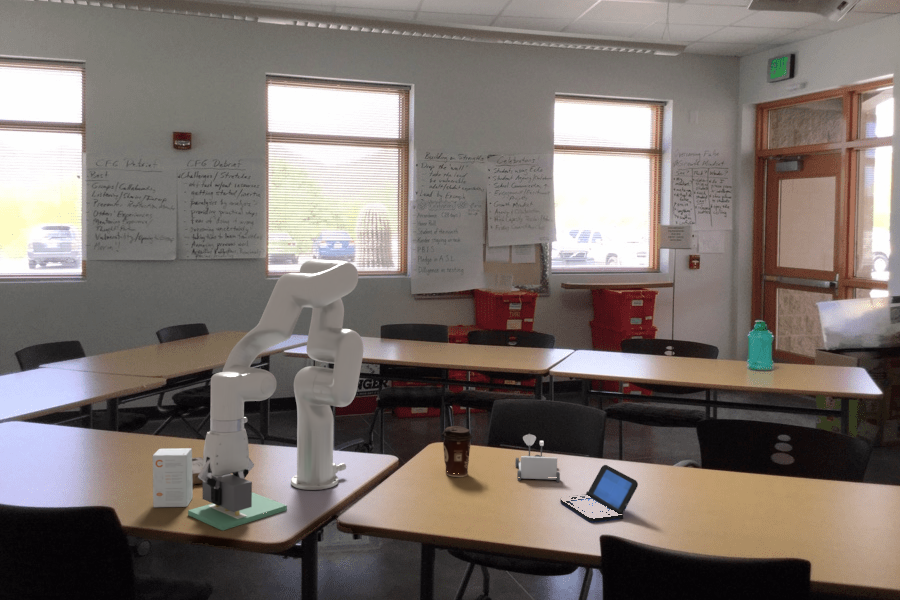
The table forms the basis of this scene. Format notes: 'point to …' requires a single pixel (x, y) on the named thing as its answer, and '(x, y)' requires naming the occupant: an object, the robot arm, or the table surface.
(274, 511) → the header board
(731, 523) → the table surface
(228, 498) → the block
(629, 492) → the laptop
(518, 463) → the toy rover
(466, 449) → the coffee cup
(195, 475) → the box
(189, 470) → the small box
